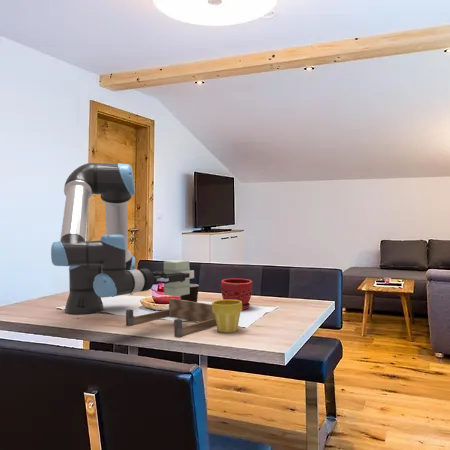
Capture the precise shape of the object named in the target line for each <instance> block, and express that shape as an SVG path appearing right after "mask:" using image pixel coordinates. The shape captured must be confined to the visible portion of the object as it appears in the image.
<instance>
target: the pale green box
mask: <svg viewBox="0 0 450 450" xmlns="http://www.w3.org/2000/svg"><path fill="white" fill-rule="evenodd" d="M162 271H164V273H165V274H173V273H180V272H185V271H191V268H190V260H181V259H175V260H166V261H163V269H162ZM190 284H191V282H190V279H185V281H183V282H180V281H179V282H172V283H167V284H164V283H163V296H164V295H165V296H171V297H180V296H181V295H186V294H190Z"/></svg>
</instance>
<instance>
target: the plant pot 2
mask: <svg viewBox="0 0 450 450" xmlns="http://www.w3.org/2000/svg"><path fill="white" fill-rule="evenodd" d="M211 304H212V312H213V313H214V315H215V320H216V324H217V326H216V328H217V331H219V332H221V333H235V332H237V331H238V327H239V321H240V317H241V313H242V311H243V310H242V302H241V301H239V300H223V299H218V300H214V301H212V302H211Z"/></svg>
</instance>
